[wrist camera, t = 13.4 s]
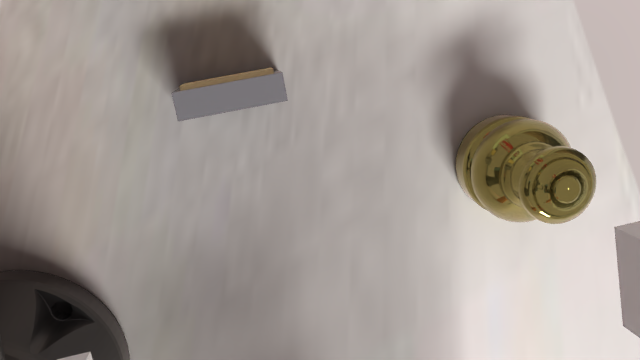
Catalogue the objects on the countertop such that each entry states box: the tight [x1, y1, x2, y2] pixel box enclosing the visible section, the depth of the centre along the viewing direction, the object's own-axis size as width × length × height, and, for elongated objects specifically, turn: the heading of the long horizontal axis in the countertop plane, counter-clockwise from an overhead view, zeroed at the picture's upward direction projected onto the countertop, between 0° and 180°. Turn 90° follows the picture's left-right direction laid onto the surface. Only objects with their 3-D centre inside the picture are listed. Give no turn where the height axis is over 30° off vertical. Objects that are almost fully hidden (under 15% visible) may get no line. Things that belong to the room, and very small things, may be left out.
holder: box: [172, 67, 288, 121], centre depth 40 cm, size 7×12×5 cm, turn 10°
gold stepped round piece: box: [456, 115, 596, 224], centre depth 42 cm, size 7×7×10 cm
